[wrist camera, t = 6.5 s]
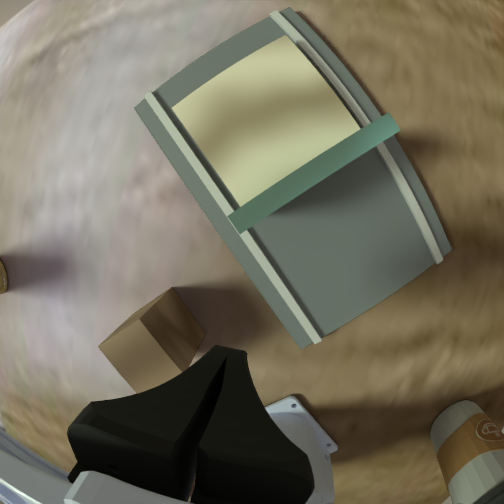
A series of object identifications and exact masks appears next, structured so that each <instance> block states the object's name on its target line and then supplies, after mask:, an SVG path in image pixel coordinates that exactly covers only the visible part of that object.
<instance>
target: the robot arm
mask: <svg viewBox="0 0 504 504" xmlns="http://www.w3.org/2000/svg"><path fill="white" fill-rule="evenodd" d="M292 404H296V405H292ZM67 435H68V439H69V442H70V445H71V447H72V450H73V452H74V455H75V457H76V459H77V464H76V465H75V466H74V468H73V469H72V471H71V472H70V474H69V473H67V472H66V471H64V470H62V469H60V468H59V467H57V466H55V465H53V464H52V463H50V462H48V461H47V460H45V459H44V458H42V457H40V456H39V455H37V454H36V453H34V452H33V451H31V450H30V449H28V448H27V447H25V446H24V445H22V444H21V443H20V442H18V441H17V440H15V439H14V438H13V437H11V436H10V435H9V434H7V433H6V432H5V431H3V430H2V429H1V428H0V500H1V501H2V502H4V503H5V504H334V503H333V501H334V496H335V492H334V483H333V474H332V466H331V458H330V453H333V452H335V451H337V450H338V446H337V445H336V443H335V442H334V441H333V440H332V439H331V438H330V437H329V435H328V434H327V433H326V432H325V431H324V430H323V429H322V427H321V426H320V425H319V424H318V423H317V422H316V421H315V419H314V418H313V417H312V416H311V415H310V414H309V412H308V411H307V410H306V409H305V408H304V406H303V405H302V404H301V403H300V402H299V401H298V399H297V398H296V397H294V396H289V397H286V398H284V399H282V400H280V401H277V402H275V403H273V404H271V405H268V406H266V407H264V406H263V404H262V402H261V400H260V398H259V396H258V394H257V391H256V389H255V387H254V384H253V381H252V378H251V375H250V371H249V367H248V362H247V353H246V351H243V350H237V349H232V348H227V347H222V346H218V345H215V346H213V347H212V348H211V349H210V350H209V351H208V352H207V353H206V354H205V355H204V356H203V357H202V358H200V359H199V360H198V361H197V362H195V363H194V364H193V365H192V366H190V367H189V368H188V369H186V370H185V371H183V372H182V373H180V374H179V375H177V376H176V377H174V378H172V379H171V380H169V381H167V382H165V383H163V384H161V385H159V386H157V387H154V388H152V389H149V390H146V391H144V392H141V393H138V394H134V395H131V396H126V397H122V398H117V399H111V400H103V401H94V402H91V403H90V404H89V405H88V406H86V407H85V408H84V409H83V410H82V411H81V413H80V414H79V415H78V416H77V417H76V419H75V420H74V421H73V422H72V424H71V425H70V426H69V427H68V430H67ZM329 443H330V444H329ZM195 472H196V479H195V487H194V491H193V494H192V497H191V501H190V503H188V498H189V495H190V491H191V487H192V483H193V480H194V476H195ZM457 504H462V503H457Z"/></svg>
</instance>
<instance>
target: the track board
mask: <svg viewBox="0 0 504 504" xmlns="http://www.w3.org/2000/svg"><path fill="white" fill-rule="evenodd" d="M284 35H286V36H287V37H288V38H289V39H290V40H291V41H292V42H293V43H294V44H295V45H296V47H297V48H298V49H299V50H300V51H301V52H302V53H303V54H304V56H305V57H306V58H307V59H308V60H309V61H310V63H311V64H312V65H313V66H314V67H315V69H316V70H317V71H318V72H319V73H320V75H321V76H322V77H323V78H324V80H325V81H326V82H327V83H328V85H329V86H330V87H331V89H332V90H333V91H334V92H335V94H336V95H337V96H338V98H339V99H340V100H341V102H342V103H343V105H344V106H345V107H346V109H347V110H348V111H349V113H350V114H351V116H352V117H353V119H354V120H355V121H356V123H357V124H358V126H359V127H360V129H362V128H363V127H365V126H367V125H368V124H370V123H372V122H373V121H375V120H377V119H378V118H380V117H382V116H381V115H380V113H379V112H378V110H377V109H376V107H375V106H374V104H373V103H372V102H371V100H370V99H369V97H368V96H367V95H366V93H365V92H364V91H363V89H362V88H361V87H360V85H359V84H358V83H357V81H356V80H355V79H354V77H353V76H352V75H351V74H350V72H349V71H348V70H347V69H346V67H345V66H344V65H343V64H342V62H341V61H340V60H339V59H338V58H337V56H336V55H335V54H334V53H333V52H332V51H331V49H330V48H329V47H328V46H327V45H326V44H325V43H324V42H323V40H322V39H321V38H320V37H319V36H318V35H317V34H316V33H315V32H314V31H313V30H312V29H311V28H310V27H309V25H308V24H307V23H306V22H305V21H304V20H303V19H302V18H301V17H300V16H299V15H298V14H297V13H296V12H295V11H294V10H293V9H291V8H290V7H288V8H286V9H284V10H282V11H280V12H278V11H277V10H276V11H274V12H272V13H270V17H268V18H266V19H264V20H262V21H260V22H258V23H256V24H254V25H252V26H251V27H249V28H247V29H245V30H243V31H242V32H240V33H238V34H236V35H235V36H233V37H231V38H230V39H228V40H226V41H225V42H223V43H221V44H220V45H218V46H217V47H215V48H214V49H212V50H210V51H209V52H207V53H206V54H204V55H203V56H201V57H200V58H198V59H197V60H195V61H194V62H192V63H191V64H190V65H188V66H187V67H185V68H184V69H183V70H181V71H180V72H178V73H177V74H176V75H174V76H173V77H172V78H170V79H169V80H168V81H166V82H165V83H164V84H162V85H161V86H160V87H159V88H157V89H156V90H155V91H154V92H151V91H150V92H148V93H147V94H146V95H145V96H144V97H145V99H144V100H143V101H141V102H140V103H139V104H138V105H137V106H136V107H134V109H135V111H136V112H137V114H138V115H139V117H140V118H141V120H142V121H143V123H144V124H145V126H146V127H147V129H148V130H149V132H150V133H151V135H152V136H153V138H154V139H155V141H156V142H157V144H158V145H159V147H160V148H161V150H162V151H163V153H164V154H165V156H166V157H167V159H168V160H169V162H170V163H171V165H172V166H173V167H174V169H175V170H176V172H177V173H178V175H179V176H180V178H181V179H182V181H183V182H184V184H185V185H186V187H187V188H188V190H189V191H190V193H191V194H192V195H193V197H194V198H195V200H196V201H197V203H198V204H199V206H200V207H201V209H202V210H203V212H204V213H205V214H206V216H207V217H208V219H209V220H210V222H211V223H212V225H213V226H214V227H215V229H216V230H217V232H218V233H219V235H220V236H221V238H222V239H223V240H224V242H225V243H226V245H227V246H228V248H229V249H230V251H231V252H232V253H233V255H234V256H235V258H236V259H237V261H238V262H239V263H240V265H241V266H242V268H243V269H244V271H245V272H246V273H247V275H248V276H249V278H250V279H251V281H252V282H253V283H254V285H255V286H256V288H257V289H258V290H259V292H260V293H261V295H262V296H263V297H264V299H265V300H266V302H267V303H268V305H269V306H270V307H271V309H272V310H273V312H274V313H275V314H276V316H277V317H278V319H279V320H280V321H281V323H282V324H283V326H284V327H285V328H286V330H287V331H288V333H289V334H290V335H291V337H292V338H293V339H294V341H295V342H296V344H297V345H298V346H299V348H300V349H302V348H304V347H306V346H308V345H310V344H311V343H313V342H314V344H317V343H318V342H320V341H322V339H321V338H322V337H324V336H326V335H327V334H329V333H331V332H332V331H334V330H336V329H337V328H339V327H341V326H343V325H344V324H346V323H347V322H349V321H351V320H352V319H354V318H356V317H357V316H359V315H360V314H362V313H364V312H365V311H367V310H368V309H370V308H371V307H373V306H375V305H376V304H378V303H379V302H381V301H382V300H384V299H385V298H387V297H388V296H390V295H391V294H393V293H394V292H396V291H397V290H399V289H400V288H401V287H403V286H404V285H406V284H407V283H409V282H410V281H411V280H413V279H414V278H416V277H417V276H418V275H420V274H421V273H423V272H424V271H425V270H427V269H428V268H429V267H431V266H432V265H433V264H435V263H436V264H439V263H440V262H441V261H443V257H444V256H445V255H446V254H448V253H449V252H450V251H452V249H451V247H450V244H449V242H448V239H447V237H446V234H445V232H444V230H443V227H442V225H441V223H440V221H439V218H438V216H437V214H436V212H435V210H434V208H433V205H432V203H431V201H430V199H429V197H428V195H427V193H426V191H425V189H424V187H423V185H422V183H421V181H420V180H419V178H418V176H417V174H416V172H415V170H414V168H413V167H412V165H411V163H410V161H409V160H408V158H407V156H406V154H405V153H404V151H403V149H402V148H401V146H400V144H399V143H398V141H397V139H396V138H395V136H394V135H392V136H391V137H389V138H388V139H386V140H384V141H383V142H381V143H380V144H378V145H377V146H375V147H373V148H372V149H370V150H369V151H367V152H365V153H364V154H362V155H361V156H359V157H358V158H356V159H354V160H353V161H351V162H350V163H348V164H347V165H345V166H343V167H342V168H340V169H339V170H337V171H336V172H334V173H333V174H331V175H329V176H328V177H326V178H325V179H323V180H322V181H320V182H319V183H317V184H316V185H314V186H312V187H311V188H309V189H308V190H306V191H305V192H303V193H302V194H300V195H299V196H297V197H296V198H294V199H293V200H291V201H290V202H288V203H286V204H285V205H283V206H282V207H280V208H279V209H277V210H276V211H274V212H273V213H271V214H270V215H268V216H267V217H265V218H264V219H262V220H261V221H259V222H258V223H256V224H255V225H253V226H252V227H250V228H249V229H247V230H246V231H244V232H243V233H241V234H239V233H238V231H237V230H236V228H235V227H234V225H233V224H232V222H231V221H230V220H229V218H228V217H227V216H228V215H230V214H231V213H232V212H234V211H235V210H237V209H238V208H240V205H239V204H238V202H237V201H236V200H235V198H234V197H233V195H232V194H231V192H230V191H229V189H228V188H227V187H226V185H225V184H224V182H223V181H222V179H221V178H220V176H219V175H218V174H217V172H216V171H215V169H214V168H213V166H212V165H211V164H210V162H209V161H208V159H207V158H206V156H205V155H204V154H203V152H202V151H201V149H200V148H199V146H198V145H197V144H196V142H195V141H194V139H193V138H192V136H191V135H190V134H189V132H188V131H187V129H186V128H185V127H184V125H183V124H182V122H181V121H180V120H179V118H178V117H177V115H176V114H175V113H174V111H173V110H172V107H174V106H175V105H176V104H177V103H179V102H180V101H181V100H183V99H184V98H185V97H187V96H188V95H189V94H191V93H192V92H194V91H195V90H196V89H198V88H199V87H201V86H202V85H203V84H205V83H206V82H208V81H209V80H211V79H212V78H214V77H215V76H217V75H218V74H220V73H221V72H223V71H224V70H226V69H227V68H229V67H231V66H232V65H234V64H235V63H237V62H239V61H240V60H242V59H243V58H245V57H247V56H248V55H250V54H252V53H254V52H255V51H257V50H259V49H260V48H262V47H264V46H266V45H268V44H269V43H271V42H273V41H275V40H277V39H279V38H281V37H283V36H284Z"/></svg>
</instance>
